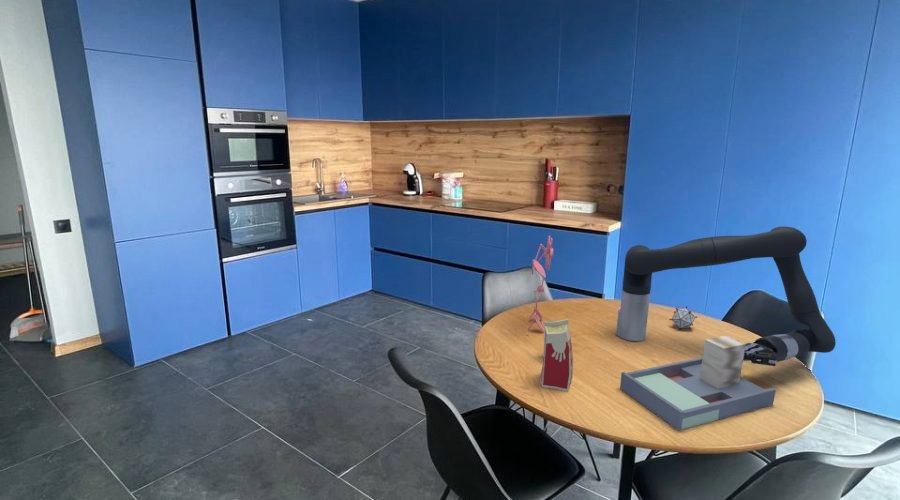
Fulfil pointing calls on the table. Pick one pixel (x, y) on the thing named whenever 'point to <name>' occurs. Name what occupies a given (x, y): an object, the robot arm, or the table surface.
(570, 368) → the milk carton
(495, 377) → the table surface
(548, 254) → the figurine
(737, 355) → the off-white block
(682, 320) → the game die
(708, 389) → the box
